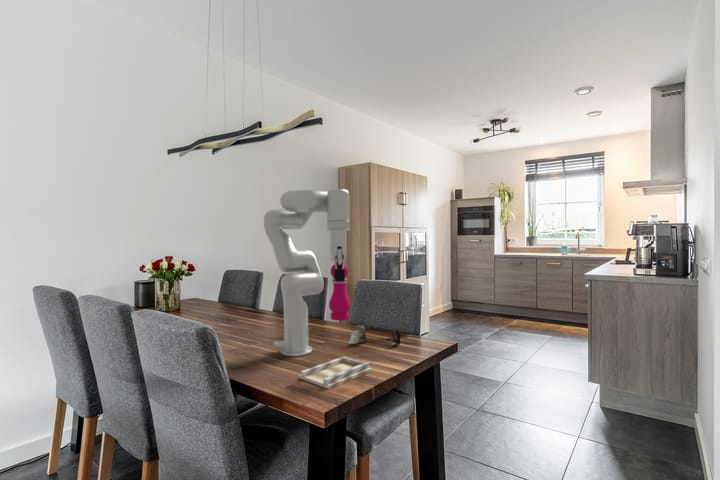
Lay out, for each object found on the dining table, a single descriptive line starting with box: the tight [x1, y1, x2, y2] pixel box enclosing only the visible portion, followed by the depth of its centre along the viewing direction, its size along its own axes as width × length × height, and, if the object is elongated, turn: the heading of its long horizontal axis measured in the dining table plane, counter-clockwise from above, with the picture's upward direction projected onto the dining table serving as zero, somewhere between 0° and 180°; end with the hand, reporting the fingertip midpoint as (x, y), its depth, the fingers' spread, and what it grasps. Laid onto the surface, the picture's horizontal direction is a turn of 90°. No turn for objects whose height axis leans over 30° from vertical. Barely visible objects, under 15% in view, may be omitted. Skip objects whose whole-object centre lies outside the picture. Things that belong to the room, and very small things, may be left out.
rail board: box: [298, 356, 373, 390], centre depth 127 cm, size 20×14×2 cm
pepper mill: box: [328, 264, 352, 321], centre depth 128 cm, size 7×7×20 cm
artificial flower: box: [348, 324, 402, 347], centre depth 164 cm, size 9×22×10 cm, turn 67°
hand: (339, 279), depth 128 cm, fingers closed on pepper mill, 5 cm apart
